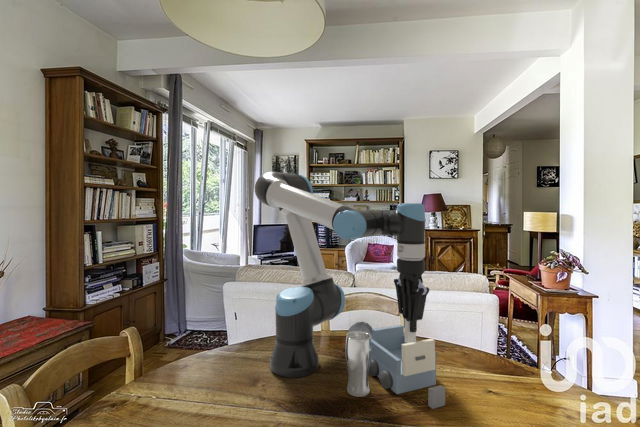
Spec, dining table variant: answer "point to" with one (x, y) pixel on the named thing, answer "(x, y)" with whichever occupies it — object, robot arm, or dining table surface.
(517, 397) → the dining table surface
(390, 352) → the trailer
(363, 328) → the canned food
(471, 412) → the dining table surface
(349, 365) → the beer glass
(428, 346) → the tailgate
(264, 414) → the dining table surface
